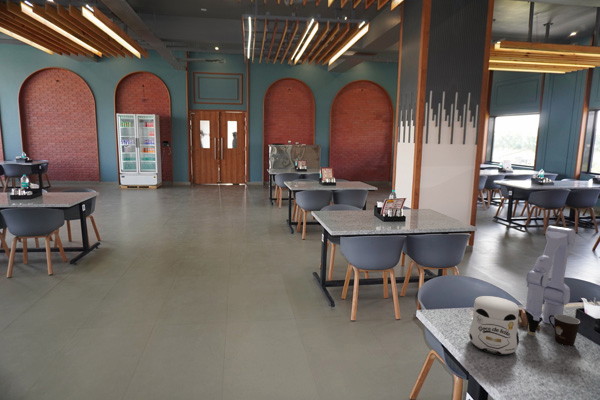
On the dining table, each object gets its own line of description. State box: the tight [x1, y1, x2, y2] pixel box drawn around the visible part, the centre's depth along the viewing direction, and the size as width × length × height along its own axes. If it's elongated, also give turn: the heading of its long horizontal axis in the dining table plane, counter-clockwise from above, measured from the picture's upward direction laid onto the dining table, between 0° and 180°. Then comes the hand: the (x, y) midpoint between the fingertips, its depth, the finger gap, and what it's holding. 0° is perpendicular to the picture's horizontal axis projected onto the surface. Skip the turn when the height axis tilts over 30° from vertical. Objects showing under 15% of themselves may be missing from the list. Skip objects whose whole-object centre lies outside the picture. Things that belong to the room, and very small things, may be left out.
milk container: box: [468, 295, 520, 356], centre depth 150 cm, size 17×17×18 cm
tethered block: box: [521, 308, 536, 336], centre depth 168 cm, size 14×5×6 cm, turn 157°
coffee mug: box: [549, 314, 581, 347], centre depth 157 cm, size 12×9×10 cm
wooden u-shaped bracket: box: [517, 308, 541, 332], centre depth 172 cm, size 9×8×5 cm
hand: (531, 330), depth 163 cm, fingers closed on tethered block, 3 cm apart
